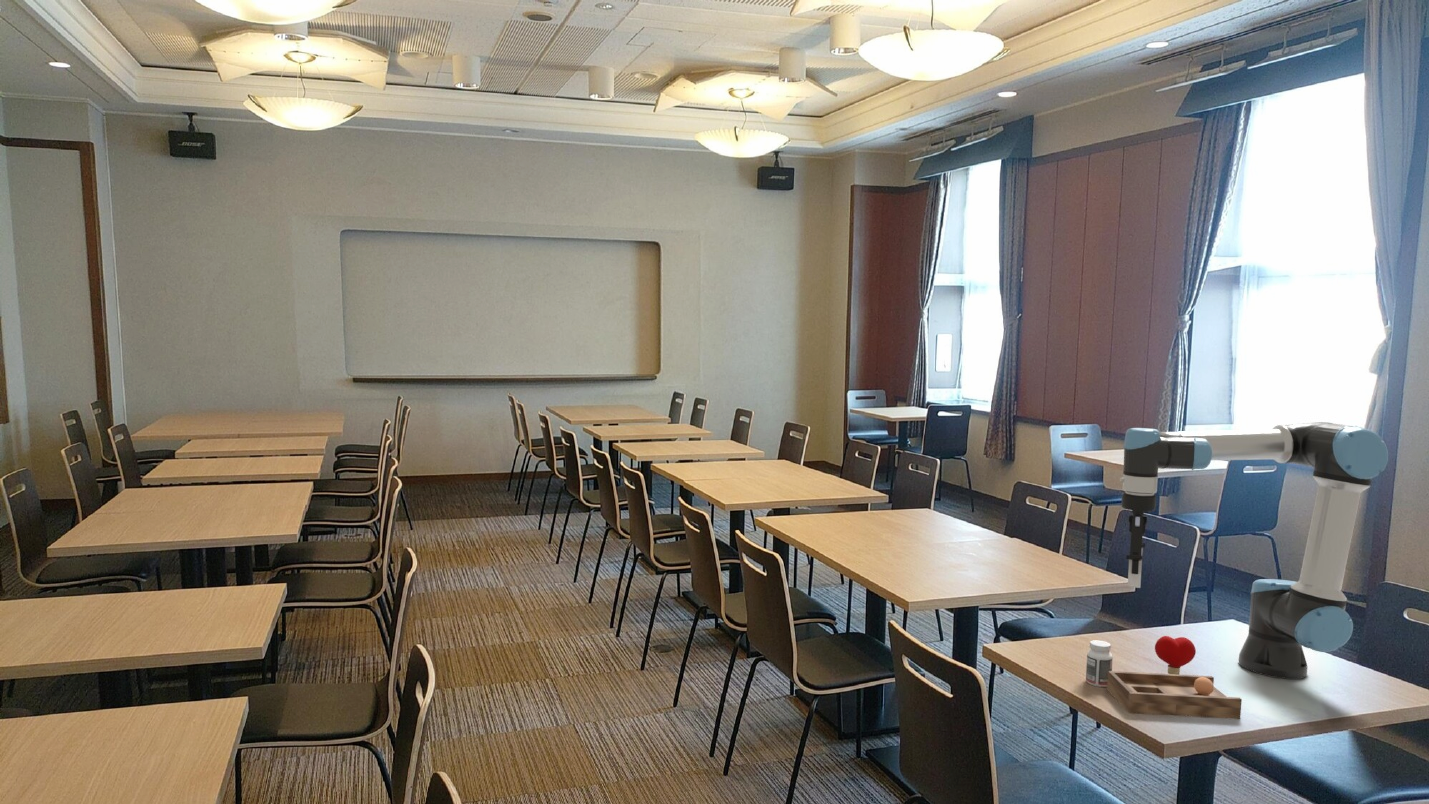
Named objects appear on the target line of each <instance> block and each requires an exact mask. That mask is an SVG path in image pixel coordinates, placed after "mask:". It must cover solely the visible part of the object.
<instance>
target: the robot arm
mask: <svg viewBox="0 0 1429 804" xmlns="http://www.w3.org/2000/svg"><path fill="white" fill-rule="evenodd" d="M1123 442H1124V445H1123V470H1122V472H1123V475H1122V477H1120V478H1119V482H1122V491H1123V492H1122V493H1121V507H1122V509H1125V510H1127V511H1132V515H1131V514H1130V515H1128V525H1129V527H1128V528H1129V529H1128V534H1129V535H1130V548H1129V549H1130V550H1129V551H1130V552H1129V554H1128V555H1126V558H1125V559H1126V560H1128V575H1127V587H1130V588H1137V589H1141V583H1142V582H1141V581H1142V564H1143V549H1145V548H1146V542H1144V543H1143V538H1144V536H1146V527H1147V523H1148V516H1144V515H1145V514H1144V513H1145V512H1147V513H1148V512H1154V511H1156V507H1157V496H1156V494H1157V492H1158V480H1159V479H1158V477H1159V476H1158V475H1159V474H1158V472H1159V469H1160V470H1161V469H1163V470H1164V469H1166V470H1167V469H1169V470H1170V469H1177V470H1191V471H1194V470H1204V469H1206V468H1207V467H1209V466H1210V464H1211V462H1212V461H1248V460H1249V461H1250V460H1251V461H1253V460H1254V461H1255V460H1257V461H1258V460H1274V461H1275V462H1277V463H1278V464H1297V465H1301V466H1306V467H1311V468H1313V474H1312V478H1313V479H1314V480H1315V482H1316V483H1317V490H1316V496H1315V501H1314V506H1313V510H1312V516H1311V520H1310V526H1309V530H1308V534H1307V535H1308V536H1307V540H1306V545H1305V550H1304V555H1303V560H1302V565H1301V570H1300V576H1299V579H1298V581H1294V580H1289V579H1288V580H1287V579H1278V578H1277V579H1274V578H1264V579H1263V578H1261V579H1256V580H1255V581H1253V582H1252V586H1251V591H1250V609H1249V621H1248V624H1249V625H1248V635H1247V636H1246V640H1245V641H1244V643H1243V645H1242V647H1241V650H1240V652H1239V654H1238V664H1239V665H1240V666H1241V667H1243V668H1245V669H1246V670H1248V671H1251V672H1253V673H1256V674H1258V675H1259V674H1260V675H1262V676H1263V675H1264V676H1267V677H1273V678H1278V679H1287V680H1291V679H1294V680H1296V679H1297V680H1298V679H1303V678H1305V677H1307V675H1308V663H1307V660H1306V656H1305V652H1304V650H1303V647H1304V648H1306V649H1310V650H1313V651H1314V652H1319V653H1329V652H1330V653H1331V652H1335V651H1337V650H1338V649H1340V648H1341V647H1343V646H1345V644H1346V643H1348V641H1349V640H1350V638H1351V636H1352V635H1353V631H1354V622H1353V620H1352V618H1351V617H1350V614H1349V613H1348V612H1347V611H1346V607H1347V602H1348V598H1347V597H1346V595H1345V594H1344V593H1343V591H1342V589H1343V588H1342V587H1343V583H1344V577H1345V574H1346V567H1347V562H1348V557H1349V553H1350V547H1351V544H1352V539H1353V534H1354V527H1355V524H1356V519H1357V514H1358V509H1359V503H1360V498H1361V494H1362V492H1364V491H1366V490H1368V489H1369V488H1371V484H1372V479H1374V478H1376V477H1378V476H1379V475H1380V473H1383V471H1384V470H1385V469H1386V467H1387V465H1388V462H1389V451H1388V447H1387V444H1386V442H1385V441H1384V440H1383V438H1382V437H1381V436H1380V435H1379V434H1378V433H1376V432H1375V431H1373V430H1371V429H1368V428H1364V427H1361V426H1357V425H1346V424H1340V423H1339V424H1338V423H1333V422H1332V423H1331V422H1322V421H1321V422H1309V423H1308V422H1307V423H1295V424H1281V425H1280V424H1279V425H1278V424H1277V425H1275V426H1274V427H1273V428H1272V429H1239V430H1238V429H1237V430H1236V429H1234V430H1233V429H1232V430H1230V429H1229V430H1227V429H1226V430H1224V429H1223V430H1193V431H1192V430H1191V431H1190V430H1188V431H1187V430H1186V431H1185V430H1184V431H1183V430H1182V431H1160V430H1158V429H1156V428H1147V427H1145V428H1144V427H1132V428H1131V427H1130V428H1128V429H1127V430H1126V432H1125V436H1124V441H1123ZM1302 646H1303V647H1302Z"/></svg>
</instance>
